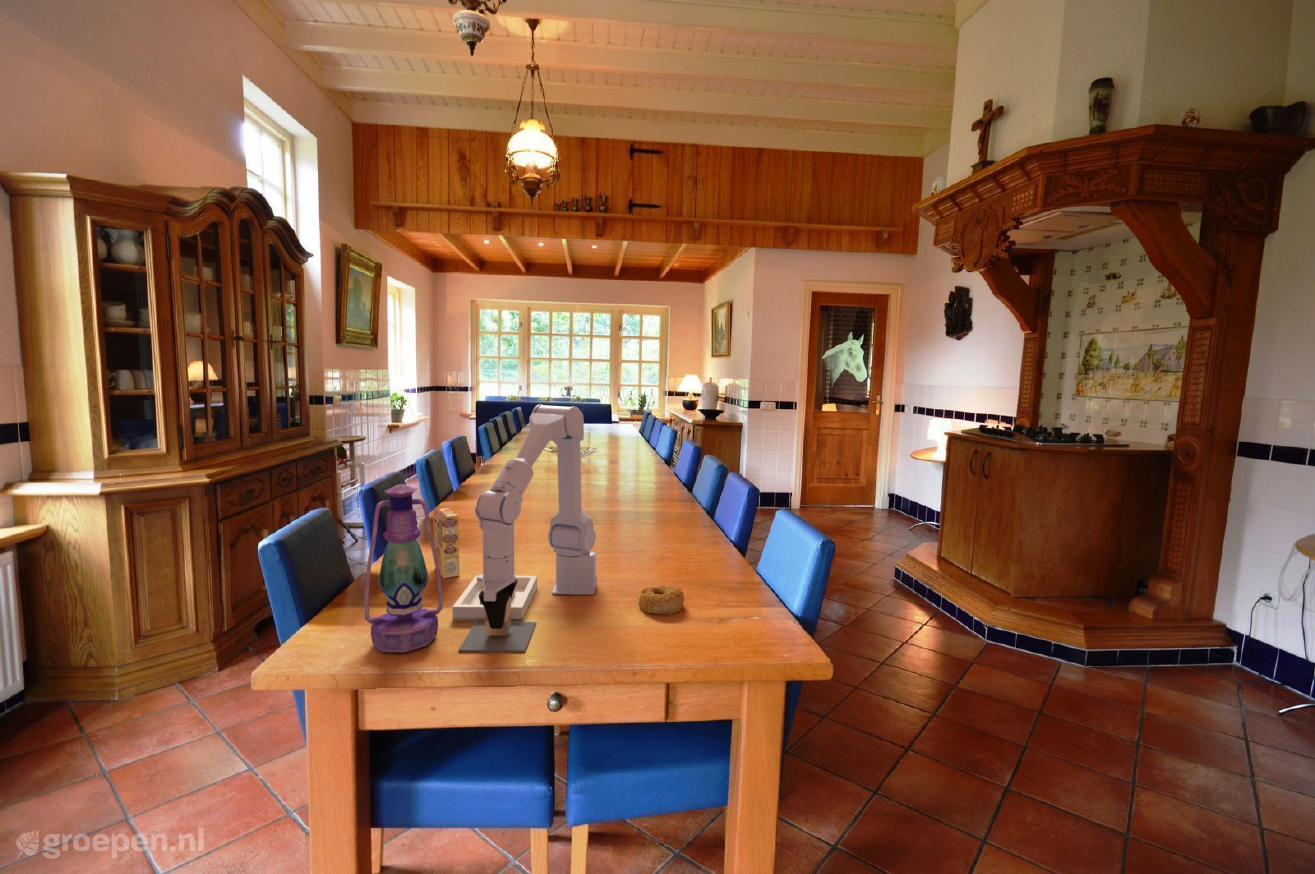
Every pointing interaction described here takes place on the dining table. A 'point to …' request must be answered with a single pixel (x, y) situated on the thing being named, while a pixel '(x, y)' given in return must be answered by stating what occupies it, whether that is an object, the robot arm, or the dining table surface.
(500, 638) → the rubber mat
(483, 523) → the robot arm
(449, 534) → the candy box
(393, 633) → the lantern
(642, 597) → the bagel
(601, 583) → the dining table surface
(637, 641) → the dining table surface
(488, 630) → the maple block
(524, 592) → the tray
